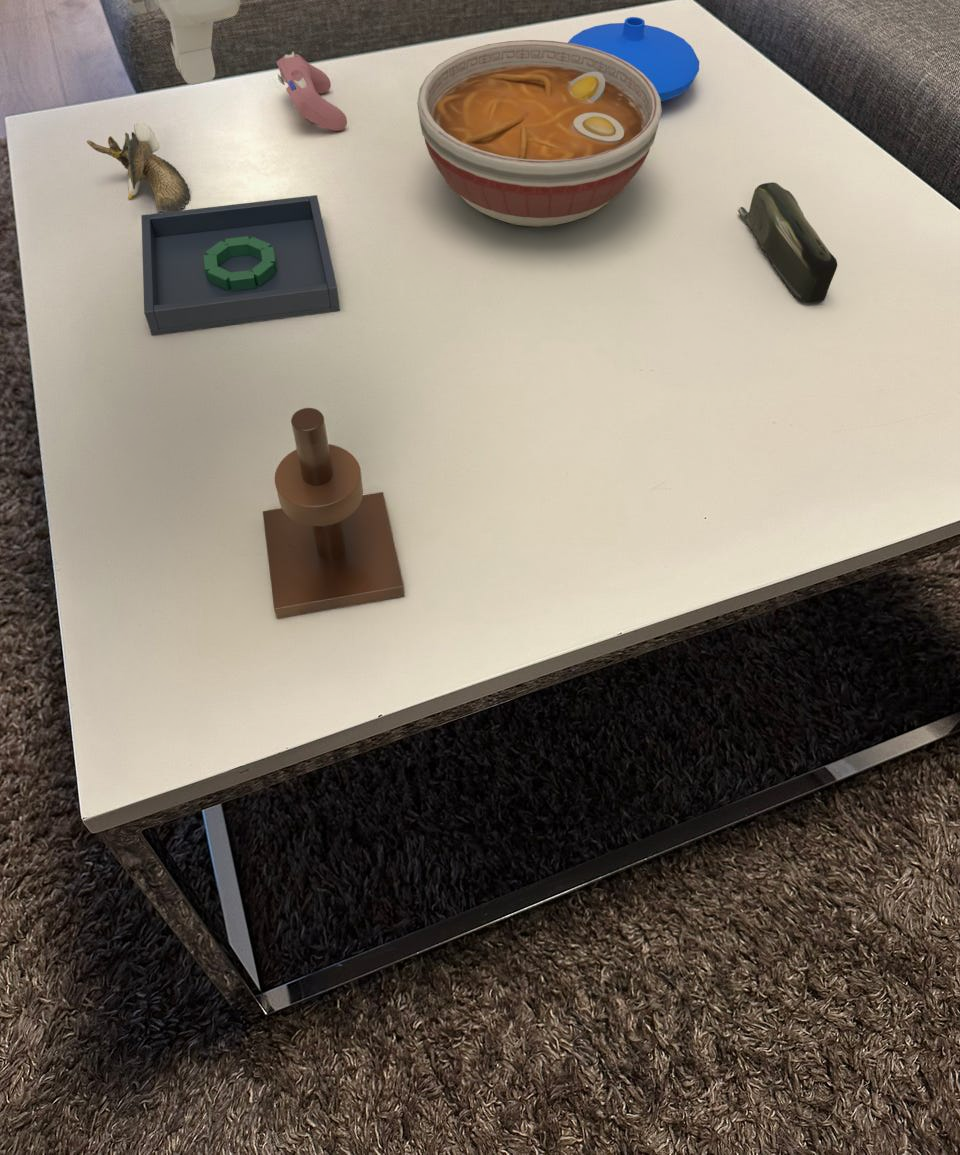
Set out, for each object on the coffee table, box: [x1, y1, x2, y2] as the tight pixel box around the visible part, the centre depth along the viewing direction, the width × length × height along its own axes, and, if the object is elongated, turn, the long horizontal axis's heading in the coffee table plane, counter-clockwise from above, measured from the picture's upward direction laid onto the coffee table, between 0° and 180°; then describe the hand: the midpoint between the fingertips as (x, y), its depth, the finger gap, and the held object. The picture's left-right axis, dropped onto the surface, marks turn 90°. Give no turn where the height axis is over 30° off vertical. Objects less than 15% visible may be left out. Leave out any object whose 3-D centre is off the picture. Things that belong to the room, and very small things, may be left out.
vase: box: [567, 16, 700, 102], centre depth 108 cm, size 16×16×7 cm
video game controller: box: [276, 51, 348, 132], centre depth 104 cm, size 10×5×7 cm, turn 17°
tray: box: [141, 194, 341, 336], centre depth 88 cm, size 17×15×2 cm
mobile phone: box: [737, 182, 838, 304], centre depth 90 cm, size 5×3×15 cm
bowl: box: [416, 39, 663, 228], centre depth 93 cm, size 23×23×10 cm
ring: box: [203, 236, 277, 291], centre depth 88 cm, size 6×6×1 cm
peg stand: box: [262, 407, 405, 619], centre depth 64 cm, size 9×9×14 cm
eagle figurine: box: [86, 122, 191, 213], centre depth 94 cm, size 8×7×9 cm
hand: (170, 41), depth 56 cm, fingers open, 8 cm apart
